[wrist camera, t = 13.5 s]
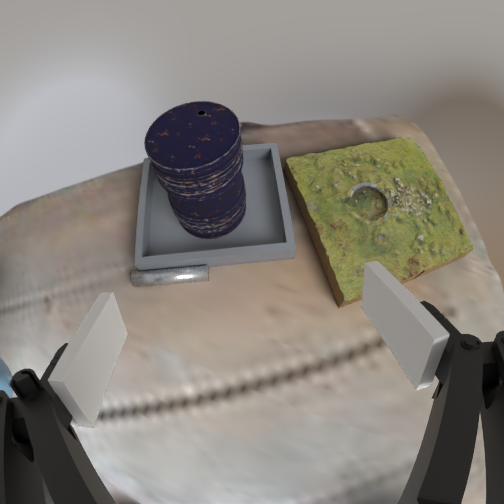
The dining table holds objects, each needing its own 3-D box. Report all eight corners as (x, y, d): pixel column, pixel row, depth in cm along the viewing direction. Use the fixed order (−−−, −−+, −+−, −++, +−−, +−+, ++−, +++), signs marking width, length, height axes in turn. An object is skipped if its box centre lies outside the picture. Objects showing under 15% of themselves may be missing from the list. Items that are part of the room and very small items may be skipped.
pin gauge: (130, 273, 36) (135, 270, 38) (132, 288, 37) (137, 284, 39) (205, 266, 37) (207, 263, 39) (207, 282, 37) (209, 278, 39)
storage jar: (235, 247, 39) (222, 179, 25) (166, 231, 40) (126, 163, 26) (255, 185, 43) (253, 106, 29) (191, 173, 44) (168, 97, 30)
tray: (142, 272, 39) (134, 265, 36) (149, 170, 45) (143, 158, 42) (293, 258, 39) (296, 249, 36) (275, 155, 45) (276, 142, 42)
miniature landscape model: (464, 257, 39) (481, 245, 34) (336, 309, 37) (347, 300, 32) (404, 148, 47) (414, 130, 42) (282, 171, 45) (284, 150, 40)
